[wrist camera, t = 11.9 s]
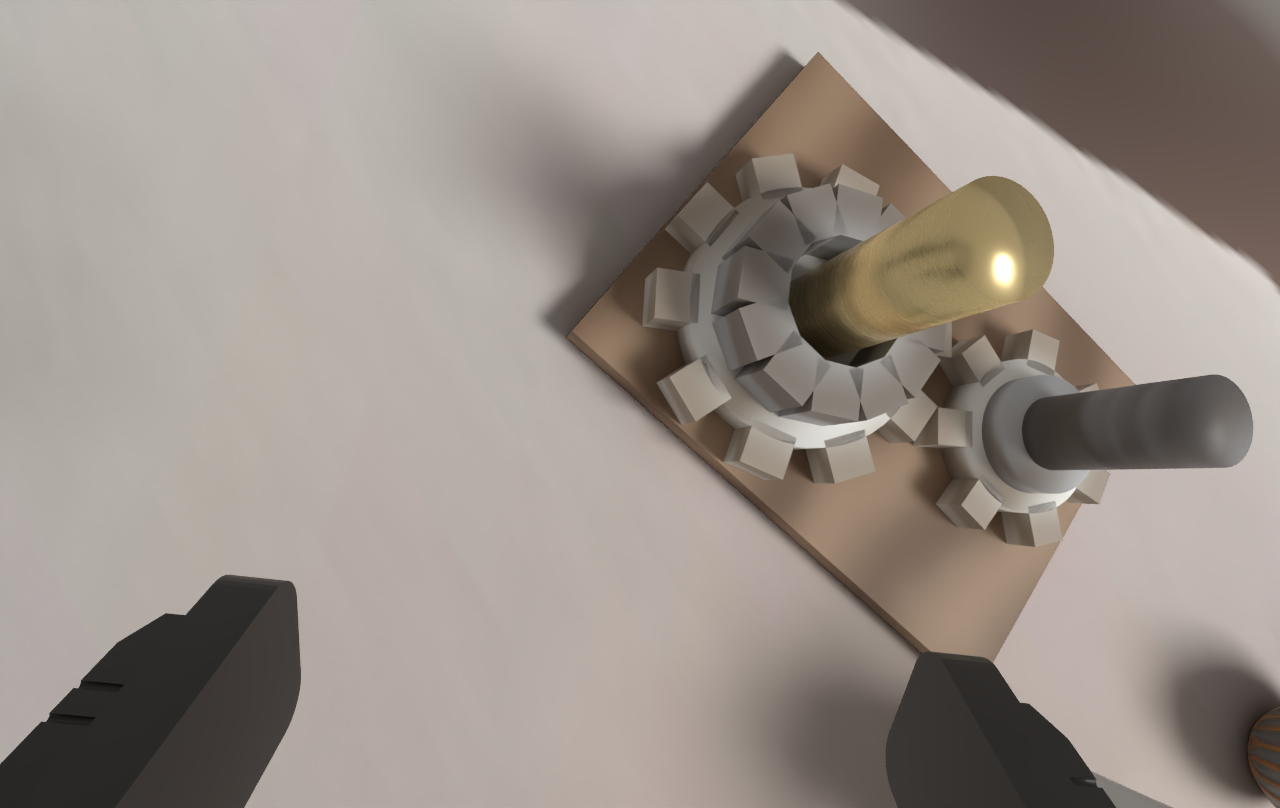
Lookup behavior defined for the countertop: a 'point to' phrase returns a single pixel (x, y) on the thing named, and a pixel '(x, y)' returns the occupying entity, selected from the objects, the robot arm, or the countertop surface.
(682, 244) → the gear board
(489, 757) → the countertop surface
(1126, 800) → the supplement box
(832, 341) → the brass axle
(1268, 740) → the vase
